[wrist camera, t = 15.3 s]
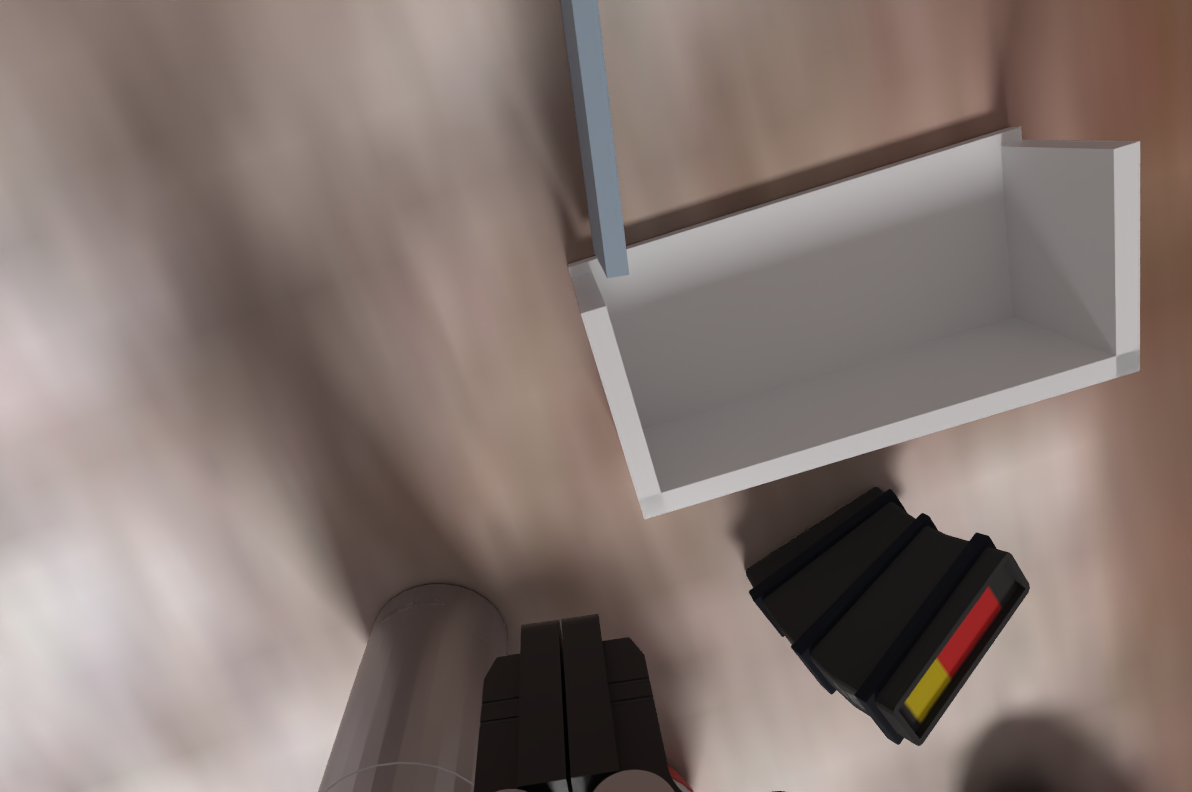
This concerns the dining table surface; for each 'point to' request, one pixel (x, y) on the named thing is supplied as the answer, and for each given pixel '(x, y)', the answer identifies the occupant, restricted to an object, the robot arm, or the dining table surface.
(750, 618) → the dining table surface
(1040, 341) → the case
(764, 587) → the black ridged battery pack
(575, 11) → the door
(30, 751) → the dining table surface
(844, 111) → the dining table surface
